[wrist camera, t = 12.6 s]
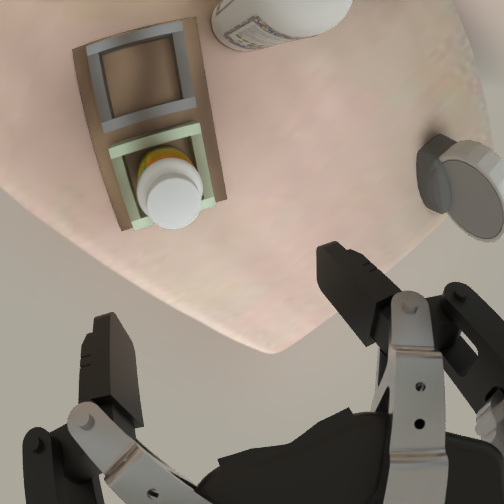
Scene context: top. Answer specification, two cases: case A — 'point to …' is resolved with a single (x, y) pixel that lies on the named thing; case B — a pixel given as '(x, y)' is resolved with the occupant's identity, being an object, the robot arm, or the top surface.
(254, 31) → the bath foam
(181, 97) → the socket board
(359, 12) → the top surface
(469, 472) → the robot arm
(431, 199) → the alarm clock
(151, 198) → the supplement bottle
